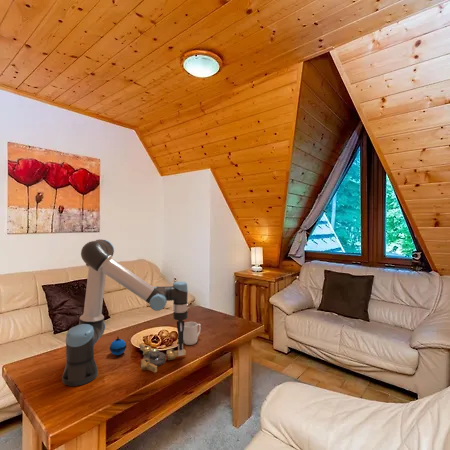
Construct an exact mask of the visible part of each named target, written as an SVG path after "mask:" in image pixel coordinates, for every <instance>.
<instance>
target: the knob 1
mask: <svg viewBox="0 0 450 450" xmlns="http://www.w3.org/2000/svg"><path fill="white" fill-rule="evenodd" d="M138 346H139V347H140V348H141V349H140V351H142V355H143V357H144V356H145V355H146V354H148V353H150V351H151V350H152V345H145V344H143V343H139V345H138Z"/></svg>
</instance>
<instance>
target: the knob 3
mask: <svg viewBox="0 0 450 450" xmlns="http://www.w3.org/2000/svg"><path fill="white" fill-rule="evenodd" d="M186 355H187V350H186V349H185V348H183V355H182V356H186ZM177 357H179V356H178V350H175V349H167V350H166V360H168V361H171V360H175V359H176V358H177Z"/></svg>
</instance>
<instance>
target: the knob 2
mask: <svg viewBox="0 0 450 450" xmlns="http://www.w3.org/2000/svg"><path fill="white" fill-rule="evenodd" d="M140 369H141V371H147V370H149V371H151V372H152V373H157V372H158V366H156V365H154V364H151V363H150V359H148V358H145V359H143V358H142V359H141V360H140Z"/></svg>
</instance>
